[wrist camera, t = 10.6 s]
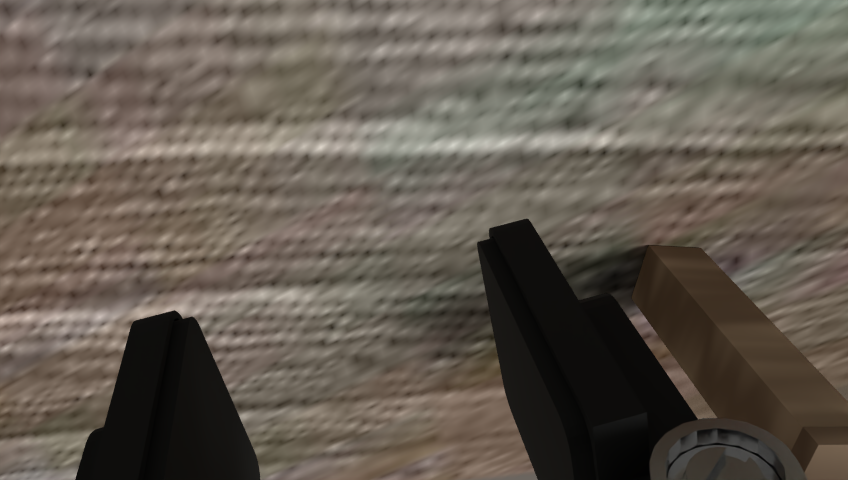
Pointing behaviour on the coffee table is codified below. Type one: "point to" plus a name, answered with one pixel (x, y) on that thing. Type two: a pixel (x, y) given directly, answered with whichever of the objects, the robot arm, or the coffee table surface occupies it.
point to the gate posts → (742, 358)
